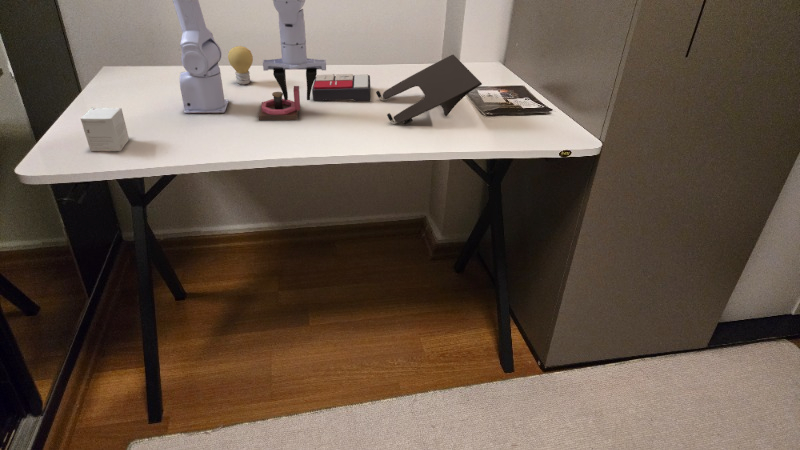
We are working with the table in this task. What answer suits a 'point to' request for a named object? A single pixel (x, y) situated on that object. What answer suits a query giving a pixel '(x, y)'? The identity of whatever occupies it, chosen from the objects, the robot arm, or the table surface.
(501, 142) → the table surface
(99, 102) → the table surface
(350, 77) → the button keypad
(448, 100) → the laptop tray
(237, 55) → the light bulb
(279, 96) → the stand
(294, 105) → the pink octagonal frame
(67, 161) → the table surface
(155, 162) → the table surface
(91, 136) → the product box
